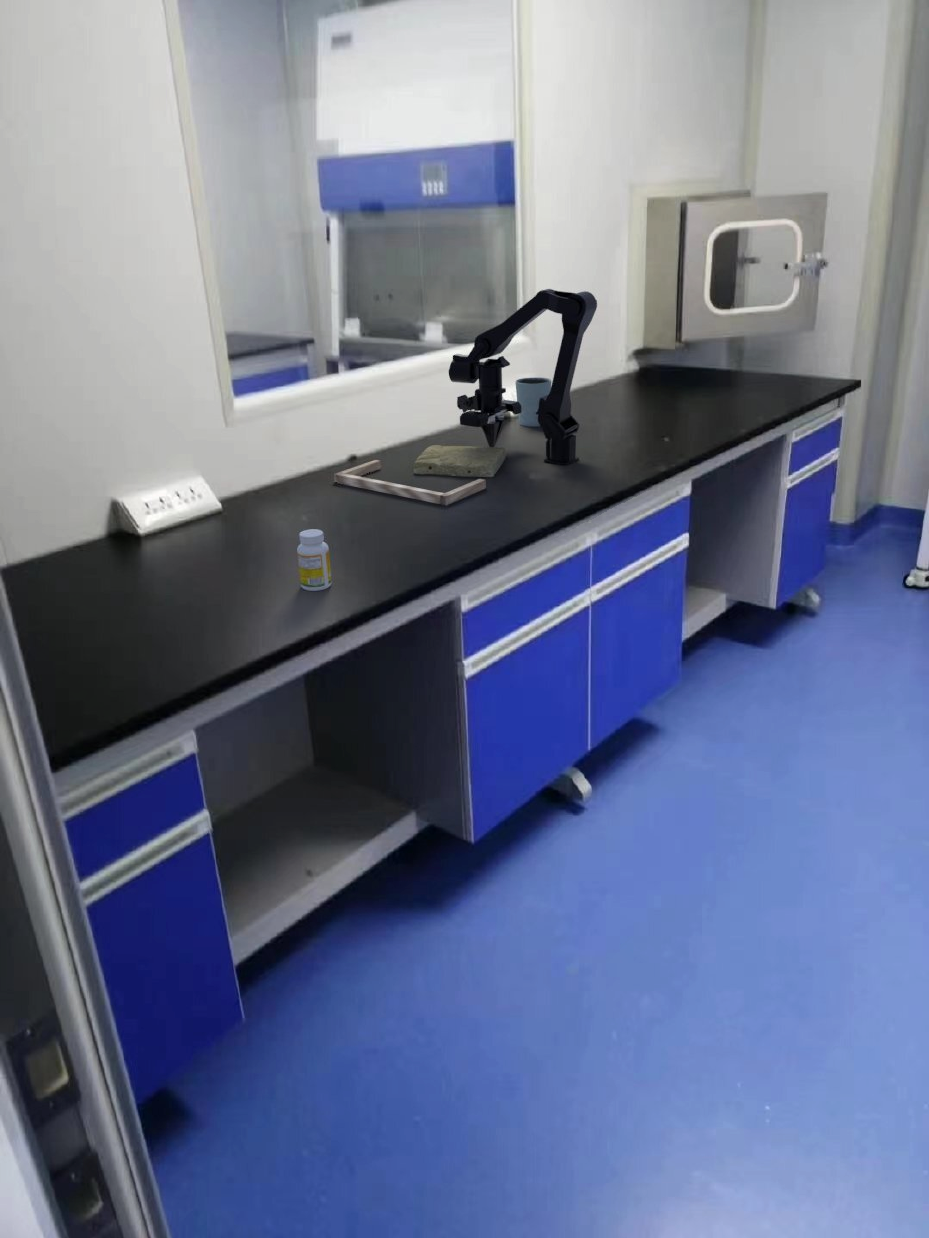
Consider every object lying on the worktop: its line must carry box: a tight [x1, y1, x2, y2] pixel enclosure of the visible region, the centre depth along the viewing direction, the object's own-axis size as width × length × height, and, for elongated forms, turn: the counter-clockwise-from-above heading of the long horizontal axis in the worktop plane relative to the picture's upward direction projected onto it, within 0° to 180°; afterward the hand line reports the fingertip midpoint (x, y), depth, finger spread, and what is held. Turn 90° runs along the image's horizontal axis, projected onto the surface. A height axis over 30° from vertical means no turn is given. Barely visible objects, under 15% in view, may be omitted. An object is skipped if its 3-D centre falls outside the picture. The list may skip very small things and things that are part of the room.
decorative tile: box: [413, 444, 507, 478], centre depth 227 cm, size 19×20×4 cm
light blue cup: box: [515, 377, 552, 428], centre depth 263 cm, size 10×10×12 cm
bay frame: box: [333, 459, 487, 506], centre depth 214 cm, size 33×14×2 cm, turn 53°
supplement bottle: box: [296, 528, 332, 592], centre depth 160 cm, size 5×5×10 cm
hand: (491, 447), depth 237 cm, fingers closed
